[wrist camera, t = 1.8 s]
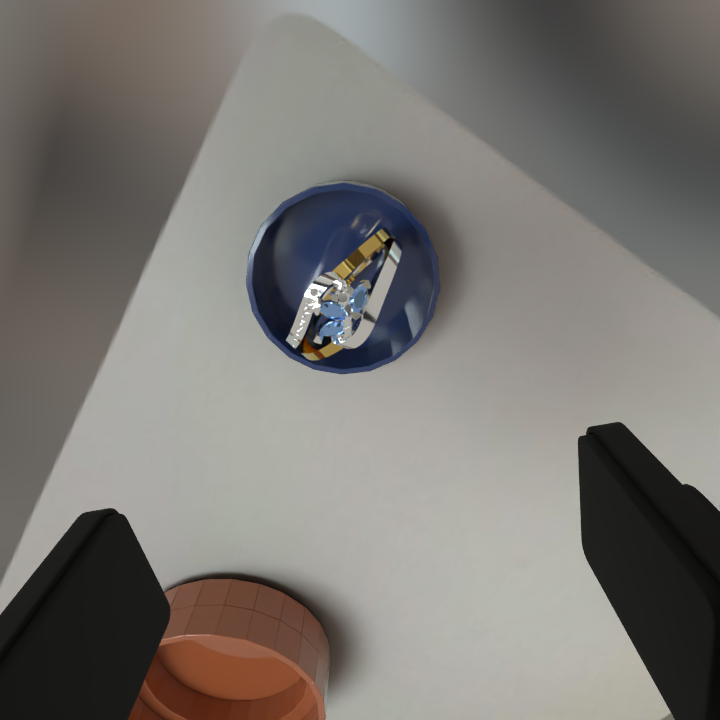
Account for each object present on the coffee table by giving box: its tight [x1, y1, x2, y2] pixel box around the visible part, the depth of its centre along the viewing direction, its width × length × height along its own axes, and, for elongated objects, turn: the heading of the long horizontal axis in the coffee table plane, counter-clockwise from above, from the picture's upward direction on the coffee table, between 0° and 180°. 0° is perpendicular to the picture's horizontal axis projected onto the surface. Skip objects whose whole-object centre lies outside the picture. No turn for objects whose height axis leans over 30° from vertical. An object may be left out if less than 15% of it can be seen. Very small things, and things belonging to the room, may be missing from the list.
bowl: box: [128, 579, 330, 720], centre depth 35 cm, size 15×15×5 cm
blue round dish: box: [246, 180, 440, 374], centre depth 25 cm, size 9×9×3 cm
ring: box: [285, 227, 402, 360], centre depth 22 cm, size 7×3×8 cm, turn 133°
